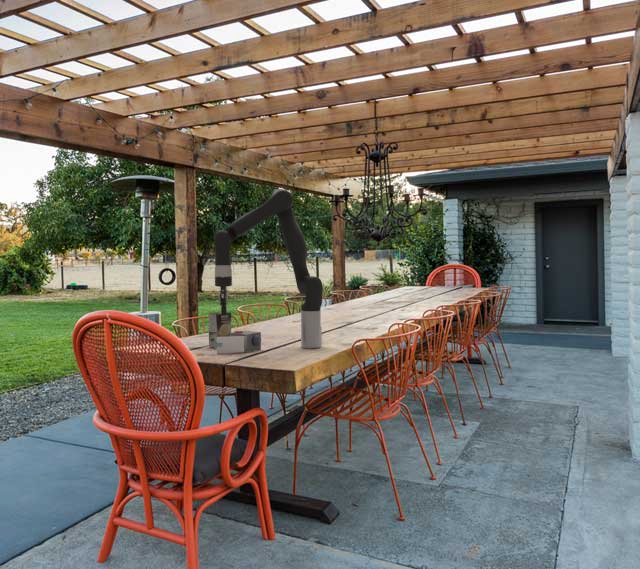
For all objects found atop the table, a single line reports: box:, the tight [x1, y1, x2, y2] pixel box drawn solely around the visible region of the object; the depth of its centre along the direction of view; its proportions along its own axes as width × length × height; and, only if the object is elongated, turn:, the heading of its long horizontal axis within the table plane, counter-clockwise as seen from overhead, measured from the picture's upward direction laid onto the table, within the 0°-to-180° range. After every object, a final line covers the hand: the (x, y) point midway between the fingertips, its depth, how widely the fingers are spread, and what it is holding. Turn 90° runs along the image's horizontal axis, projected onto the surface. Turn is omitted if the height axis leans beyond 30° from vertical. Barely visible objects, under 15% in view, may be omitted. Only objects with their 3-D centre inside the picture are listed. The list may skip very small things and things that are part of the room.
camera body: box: [230, 330, 262, 353], centre depth 256 cm, size 10×11×9 cm
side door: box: [216, 336, 248, 354], centre depth 248 cm, size 2×13×7 cm, turn 96°
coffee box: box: [208, 311, 232, 349], centre depth 266 cm, size 9×6×16 cm
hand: (223, 314), depth 250 cm, fingers closed
